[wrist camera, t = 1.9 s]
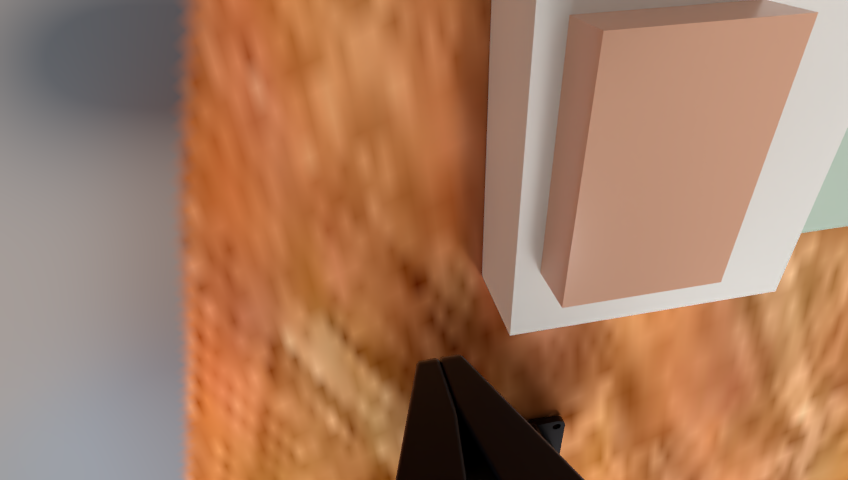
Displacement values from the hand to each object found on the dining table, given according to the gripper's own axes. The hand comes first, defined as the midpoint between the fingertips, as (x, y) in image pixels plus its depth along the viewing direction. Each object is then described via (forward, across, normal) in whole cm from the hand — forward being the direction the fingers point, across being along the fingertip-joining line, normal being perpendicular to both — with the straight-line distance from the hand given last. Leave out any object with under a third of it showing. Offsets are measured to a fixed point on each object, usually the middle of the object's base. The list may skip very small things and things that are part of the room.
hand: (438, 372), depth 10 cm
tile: (+8, -8, 0) cm, 12 cm away
